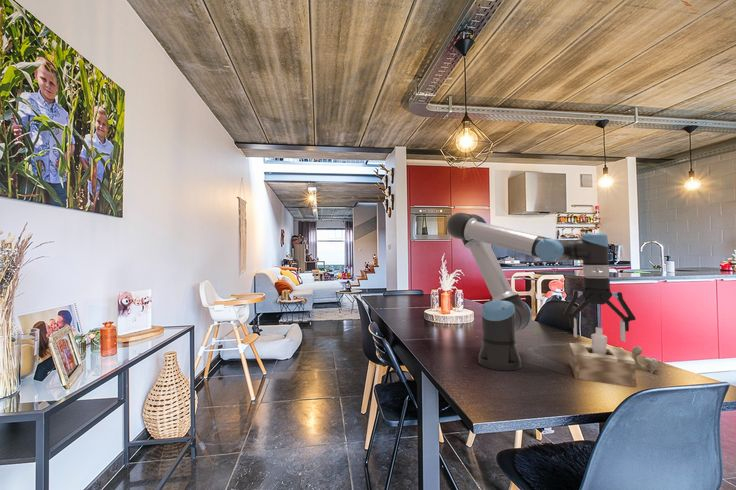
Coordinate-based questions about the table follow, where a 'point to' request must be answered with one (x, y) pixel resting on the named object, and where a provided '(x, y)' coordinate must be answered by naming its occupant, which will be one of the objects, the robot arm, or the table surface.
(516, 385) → the table surface
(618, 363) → the holder box
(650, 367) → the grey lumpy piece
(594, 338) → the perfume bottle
